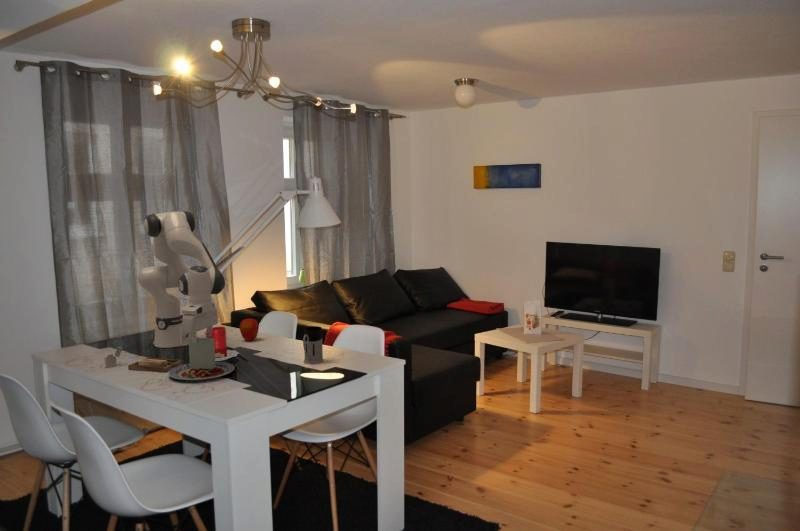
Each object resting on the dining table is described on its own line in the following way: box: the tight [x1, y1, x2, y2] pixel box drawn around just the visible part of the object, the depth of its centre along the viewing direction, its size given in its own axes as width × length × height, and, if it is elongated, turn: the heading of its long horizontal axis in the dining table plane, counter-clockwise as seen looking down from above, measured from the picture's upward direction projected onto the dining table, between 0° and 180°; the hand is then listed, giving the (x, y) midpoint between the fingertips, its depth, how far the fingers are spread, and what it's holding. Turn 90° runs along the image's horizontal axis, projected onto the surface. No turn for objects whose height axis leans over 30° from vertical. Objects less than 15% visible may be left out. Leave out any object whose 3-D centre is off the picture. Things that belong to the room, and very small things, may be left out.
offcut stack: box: [137, 358, 168, 367], centre depth 265 cm, size 5×12×4 cm, turn 77°
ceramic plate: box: [167, 361, 235, 382], centre depth 256 cm, size 26×26×3 cm
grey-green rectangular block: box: [188, 337, 216, 369], centre depth 256 cm, size 3×10×12 cm, turn 75°
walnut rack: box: [127, 357, 185, 373], centre depth 267 cm, size 13×18×2 cm
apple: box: [239, 318, 260, 342], centre depth 313 cm, size 9×9×12 cm
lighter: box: [104, 346, 123, 369], centre depth 269 cm, size 7×2×8 cm, turn 137°
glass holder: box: [302, 325, 325, 365], centre depth 270 cm, size 9×14×15 cm, turn 164°
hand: (201, 339), depth 256 cm, fingers open, 8 cm apart
